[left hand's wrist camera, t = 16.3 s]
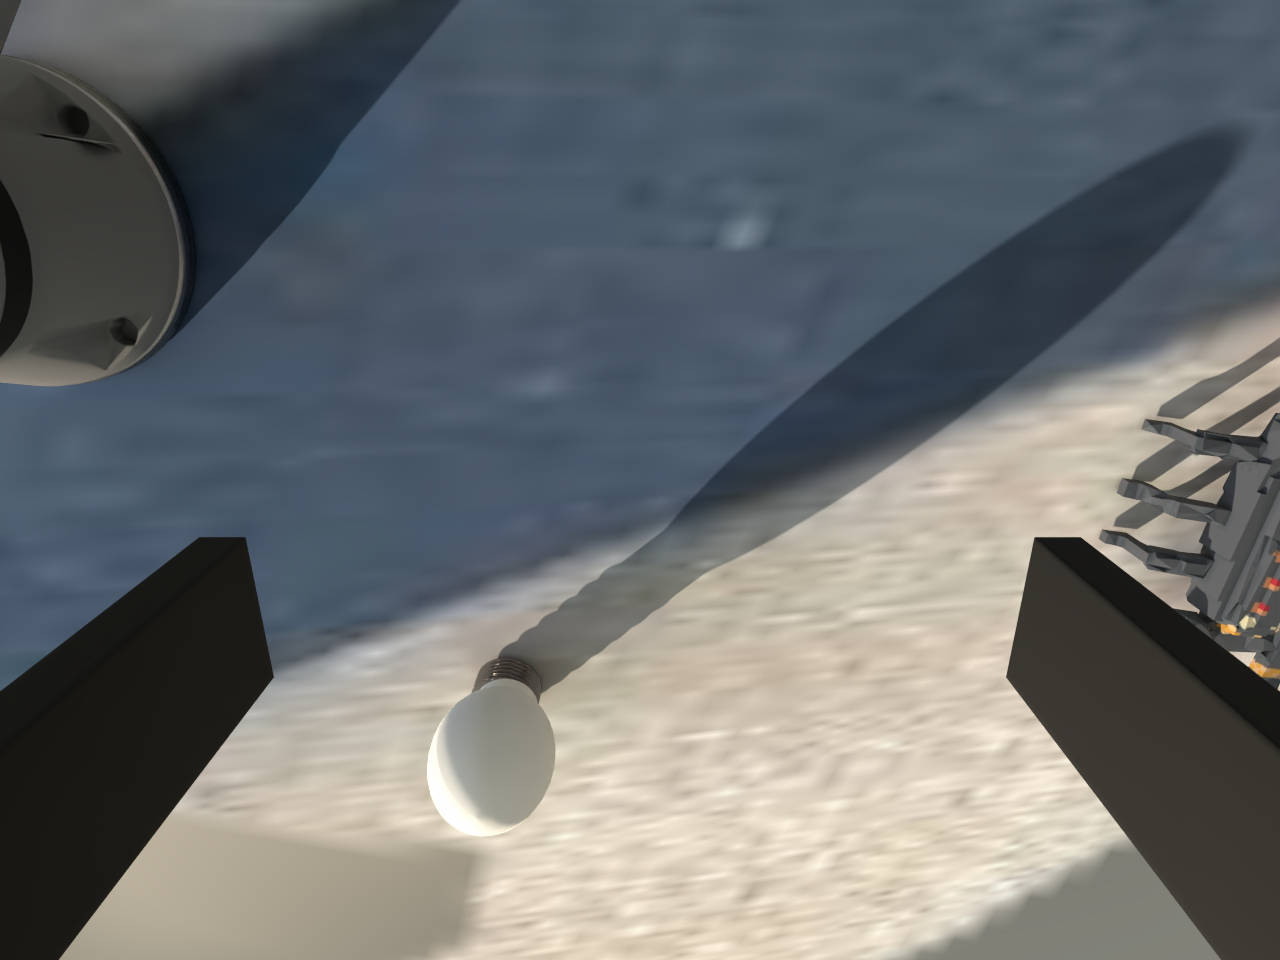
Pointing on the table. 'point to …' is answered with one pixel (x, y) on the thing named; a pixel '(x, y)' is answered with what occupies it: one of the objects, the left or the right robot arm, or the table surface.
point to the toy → (1226, 543)
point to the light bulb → (493, 752)
